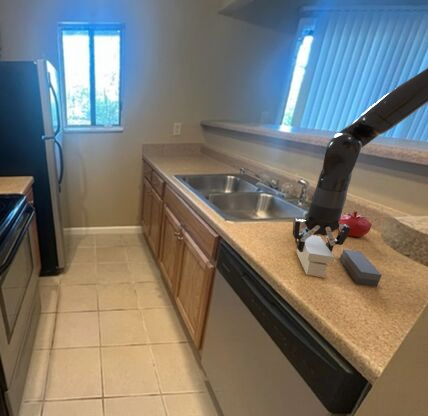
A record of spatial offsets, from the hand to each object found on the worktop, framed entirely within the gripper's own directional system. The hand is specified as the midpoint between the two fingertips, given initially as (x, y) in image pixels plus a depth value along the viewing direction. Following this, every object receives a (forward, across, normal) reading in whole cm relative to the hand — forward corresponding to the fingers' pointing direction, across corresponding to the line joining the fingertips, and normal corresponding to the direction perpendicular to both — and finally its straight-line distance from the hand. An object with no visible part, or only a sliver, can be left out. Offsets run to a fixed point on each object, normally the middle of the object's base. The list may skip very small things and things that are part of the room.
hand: (312, 252), depth 86 cm
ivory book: (-1, 0, 0) cm, 1 cm away
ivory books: (+4, 0, 0) cm, 4 cm away
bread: (+4, +2, +20) cm, 21 cm away
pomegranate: (+4, +20, +31) cm, 37 cm away
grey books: (+4, +12, 0) cm, 13 cm away
